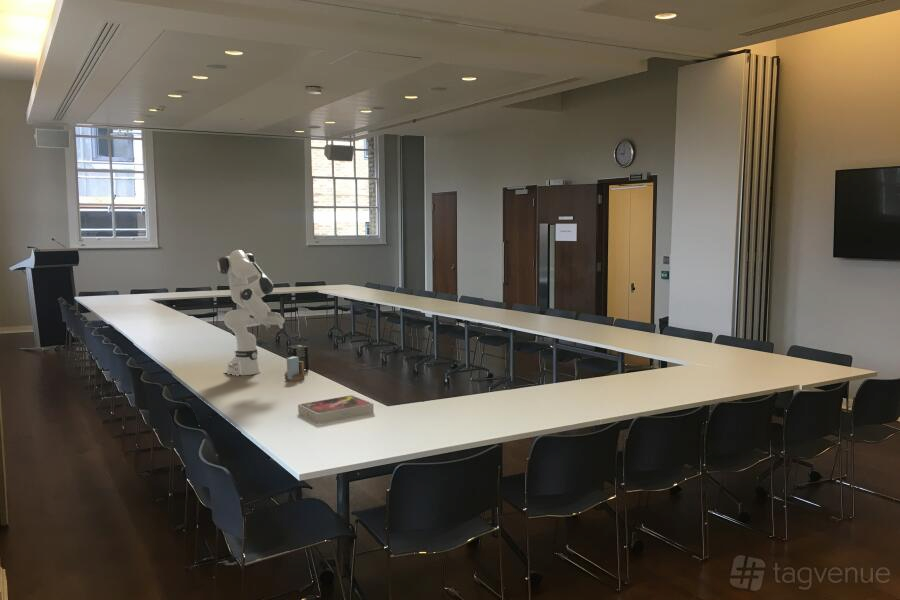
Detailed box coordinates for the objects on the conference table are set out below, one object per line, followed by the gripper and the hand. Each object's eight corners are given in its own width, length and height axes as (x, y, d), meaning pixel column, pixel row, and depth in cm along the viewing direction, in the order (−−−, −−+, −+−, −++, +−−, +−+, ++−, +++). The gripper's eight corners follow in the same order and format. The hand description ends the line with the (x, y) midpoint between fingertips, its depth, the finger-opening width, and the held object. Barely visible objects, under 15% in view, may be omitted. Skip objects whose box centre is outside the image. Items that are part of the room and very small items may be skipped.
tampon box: (309, 370, 436) (308, 346, 435) (294, 372, 431) (293, 348, 429) (302, 367, 445) (301, 344, 444) (287, 369, 440) (286, 345, 438)
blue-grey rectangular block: (287, 379, 408) (286, 358, 406) (294, 376, 413) (293, 356, 412) (292, 379, 406) (291, 358, 405) (299, 377, 411) (298, 356, 410)
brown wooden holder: (285, 380, 408) (284, 363, 407) (295, 377, 416) (294, 360, 415) (293, 381, 405) (293, 364, 404) (304, 378, 413) (303, 361, 412)
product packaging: (298, 414, 337) (298, 404, 336) (352, 405, 353) (351, 395, 352) (318, 424, 319) (317, 413, 318) (373, 414, 335) (373, 403, 335)
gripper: (279, 308, 389) (292, 323, 398) (251, 306, 399) (264, 321, 408) (273, 317, 385) (287, 332, 395) (245, 315, 395) (259, 330, 405)
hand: (275, 327), depth 402 cm, fingers open, 8 cm apart
